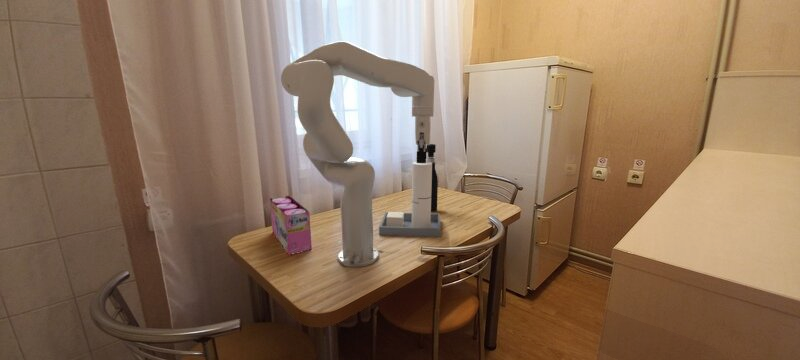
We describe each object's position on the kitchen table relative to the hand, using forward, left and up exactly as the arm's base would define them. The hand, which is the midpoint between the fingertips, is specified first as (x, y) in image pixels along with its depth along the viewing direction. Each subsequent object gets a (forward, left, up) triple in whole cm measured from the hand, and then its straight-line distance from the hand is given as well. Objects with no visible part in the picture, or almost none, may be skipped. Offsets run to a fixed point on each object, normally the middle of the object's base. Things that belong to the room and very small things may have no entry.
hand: (421, 160), depth 115 cm
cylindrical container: (0, 0, -26) cm, 26 cm away
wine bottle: (+22, -3, -27) cm, 35 cm away
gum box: (-13, +45, -27) cm, 55 cm away
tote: (0, +4, -27) cm, 27 cm away
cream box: (0, +10, -26) cm, 28 cm away
